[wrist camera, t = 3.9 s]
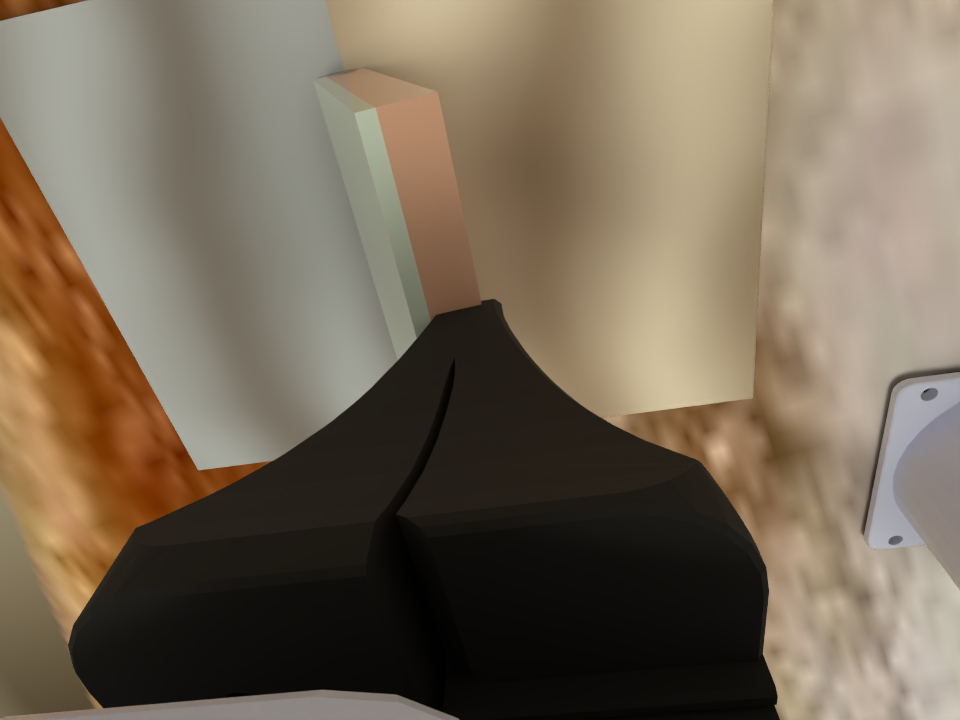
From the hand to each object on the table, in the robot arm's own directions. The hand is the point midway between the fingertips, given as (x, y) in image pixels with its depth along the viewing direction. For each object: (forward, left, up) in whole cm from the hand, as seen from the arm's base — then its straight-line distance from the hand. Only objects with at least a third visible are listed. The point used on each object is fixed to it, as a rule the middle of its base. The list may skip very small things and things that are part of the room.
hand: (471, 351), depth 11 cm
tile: (+1, 0, -3) cm, 3 cm away
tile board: (+2, 0, -8) cm, 8 cm away
